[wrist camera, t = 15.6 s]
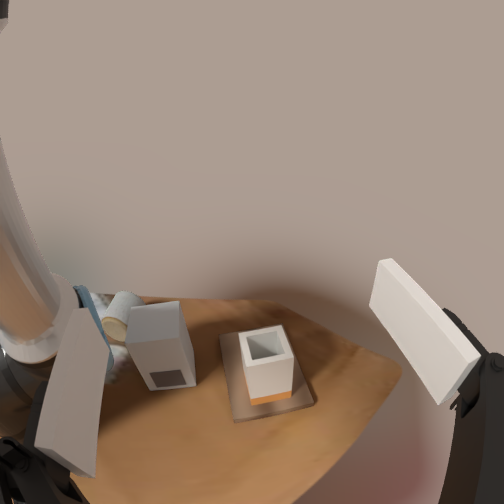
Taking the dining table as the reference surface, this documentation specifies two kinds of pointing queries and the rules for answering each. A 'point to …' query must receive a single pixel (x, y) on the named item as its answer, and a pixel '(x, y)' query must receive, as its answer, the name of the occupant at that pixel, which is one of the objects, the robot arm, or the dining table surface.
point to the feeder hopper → (161, 346)
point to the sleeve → (267, 364)
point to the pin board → (239, 389)
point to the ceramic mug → (120, 314)
